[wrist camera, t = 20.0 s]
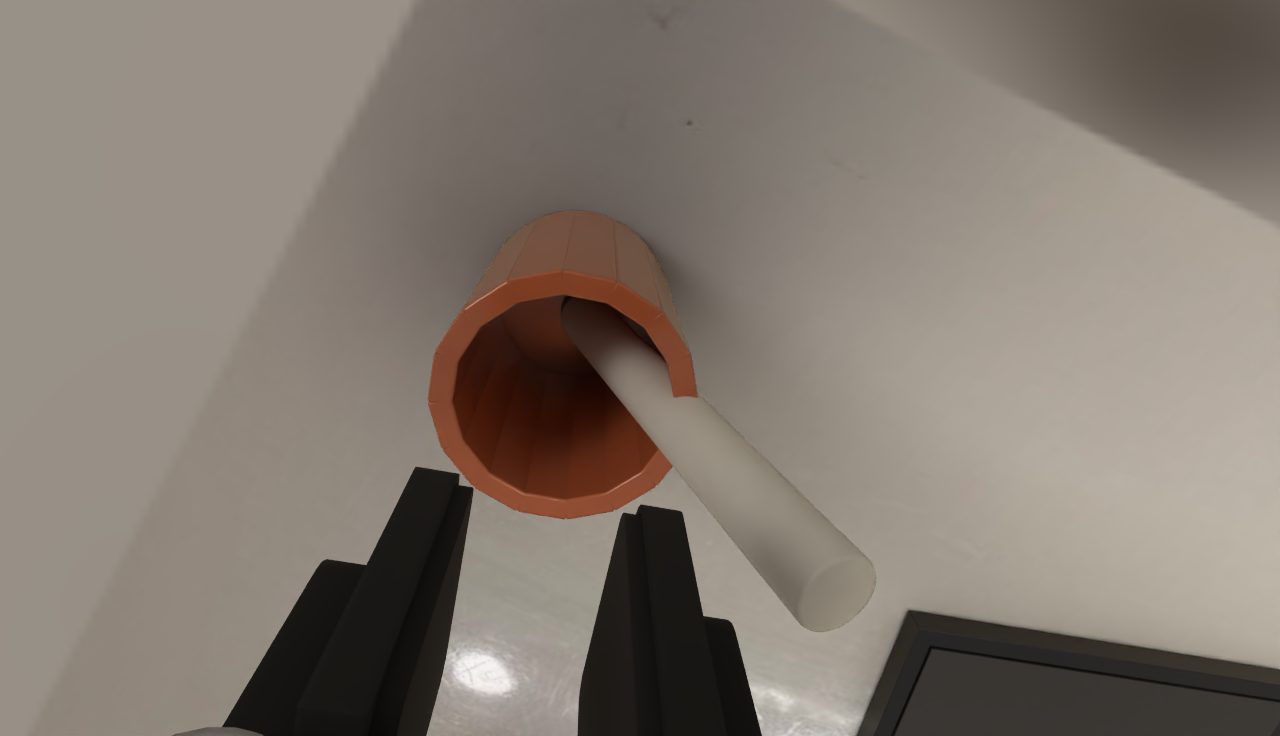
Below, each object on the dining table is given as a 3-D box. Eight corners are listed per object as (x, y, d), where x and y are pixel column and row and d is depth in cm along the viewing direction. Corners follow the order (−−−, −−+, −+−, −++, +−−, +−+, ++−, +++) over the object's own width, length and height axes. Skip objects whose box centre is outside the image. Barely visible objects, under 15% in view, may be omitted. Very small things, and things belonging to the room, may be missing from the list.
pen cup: (502, 192, 21) (447, 245, 14) (684, 231, 22) (726, 303, 15) (475, 365, 23) (414, 495, 16) (644, 396, 24) (663, 536, 16)
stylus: (557, 281, 21) (814, 559, 10) (602, 286, 22) (890, 554, 11) (548, 327, 22) (785, 638, 11) (593, 330, 22) (860, 629, 12)
